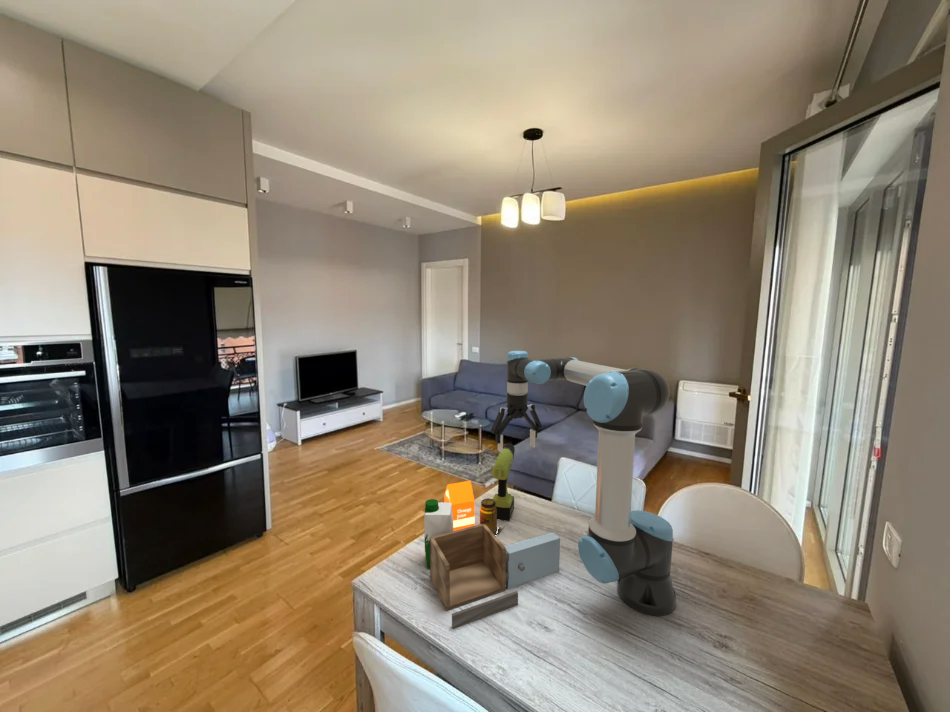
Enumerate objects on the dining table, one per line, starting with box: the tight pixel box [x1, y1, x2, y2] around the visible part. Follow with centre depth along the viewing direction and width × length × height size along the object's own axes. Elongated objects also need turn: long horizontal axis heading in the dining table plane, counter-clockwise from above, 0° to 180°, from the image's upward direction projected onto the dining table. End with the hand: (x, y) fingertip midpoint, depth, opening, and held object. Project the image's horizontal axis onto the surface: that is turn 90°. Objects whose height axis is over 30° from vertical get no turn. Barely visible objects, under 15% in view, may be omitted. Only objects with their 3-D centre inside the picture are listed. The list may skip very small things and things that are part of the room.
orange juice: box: [443, 480, 476, 531], centre depth 135 cm, size 8×9×20 cm
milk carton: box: [423, 498, 453, 569], centre depth 122 cm, size 9×9×20 cm
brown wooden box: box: [429, 523, 519, 629], centre depth 110 cm, size 20×20×13 cm
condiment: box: [479, 498, 504, 535], centre depth 139 cm, size 7×8×12 cm
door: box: [504, 531, 561, 590], centre depth 115 cm, size 5×18×11 cm, turn 115°
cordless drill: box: [491, 442, 516, 522], centre depth 154 cm, size 23×7×25 cm, turn 164°
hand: (516, 449), depth 144 cm, fingers open, 13 cm apart
